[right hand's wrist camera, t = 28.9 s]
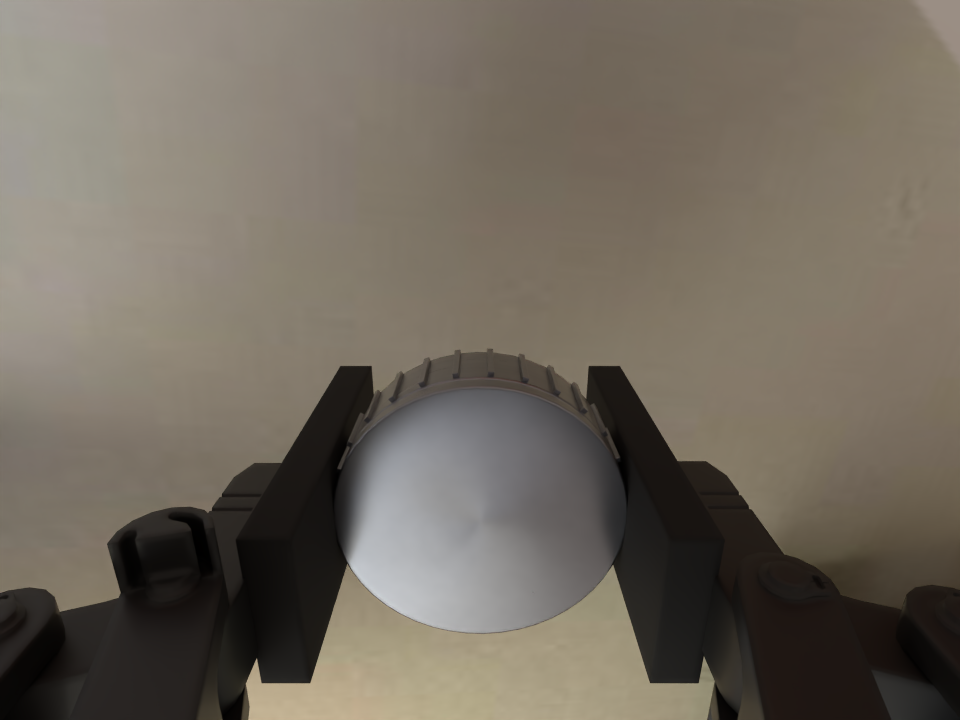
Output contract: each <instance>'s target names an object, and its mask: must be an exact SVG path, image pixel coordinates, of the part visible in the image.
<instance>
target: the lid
mask: <svg viewBox="0 0 960 720" xmlns="http://www.w3.org/2000/svg"><path fill="white" fill-rule="evenodd" d="M619 462H621V458H620V456H619V453H618V451H617V449H616V447H615V444H614V442H613V440H612V437H611V435H610V433H609V430H608V428H605V426H604V423H603V421H602V419H601V416H600V414H599V412H598V409H597V407H596V405H595V404H594V403H593V404H592V405H590V404H589V403H588V401H587V400H586V399H585V398H584V397H583V396H582V395H581V392H580V389H579V387H578V385H577V384H576V383H575V382H573V383H572V384H570V383H569V382H567V381H566V380H565V379H564V378H562V377H561V376H559V375H558V374H556V373H555V371H554V368H553V367H552V366H550V365H548V367H547V368H546V367H543V366H541V365H539V364H537V363H534V362H532V361H529V360H526V359H525V355H523V354H519V356H518V357H516V356H511V355H505V354H499V353H493V349H487V353H485V352H473V353H461V350H456V351H455V355H450V356H446V357H441V358H438V359H435V360H432V361H431V360H430V358H426V359H424V362H423V364H422V365H420V366H418V367H416V368H414V369H412V370H410V371H408V372H406V373H405V374H403V373H402V372H401V371H400V372H399V373H397V375H396V378H395V380H394V381H393V382H392V383H391V384H390V385H389V386H387V387H386V388H385V389H384V390H383V391H382V392H380V391H379V390H377V391H376V392H375V394H374V396H373V399H372V401H371V404H370V406H369V408H368V410H367V411H366V413H365V414H362V413H360V415H359V417H358V419H357V421H356V423H355V426H354V428H353V430H352V433H351V435H350V437H349V440H348V442H347V444H346V449H345V451H344V453H343V456H342V458H341V460H340V463H339V465H338V467H337V471H336V472H337V473H339V474H338V478H337V482H336V486H335V490H334V497H333V512H334V522H335V530H336V537H337V541H338V543H339V546H340V549H341V551H342V554H343V556H344V558H345V560H346V562H347V563H348V565H349V567H350V569H351V570H352V572H353V573H354V574H355V576H356V577H357V578H358V579H359V581H360V582H361V583H362V584H363V585H364V586H365V587H366V588H367V589H368V590H369V591H370V592H371V593H372V594H373V595H374V596H375V597H376V598H378V599H379V600H380V601H381V602H383V603H384V604H385V605H387V606H388V607H390V608H392V609H393V610H395V611H396V612H398V613H400V614H402V615H404V616H406V617H408V618H410V619H412V620H414V621H417V622H420V623H422V624H425V625H428V626H431V627H435V628H439V629H443V630H448V631H454V632H462V633H480V634H486V633H500V632H507V631H512V630H518V629H522V628H526V627H529V626H533V625H536V624H539V623H541V622H544V621H546V620H549V619H551V618H553V617H555V616H557V615H559V614H561V613H563V612H564V611H566V610H568V609H569V608H571V607H572V606H574V605H575V604H577V603H578V602H580V601H581V600H582V599H583V598H584V597H586V596H587V595H588V594H589V593H590V592H591V591H592V590H593V589H594V588H595V587H596V586H597V585H598V584H599V583H600V582H601V580H602V579H603V578H604V577H605V575H606V574H607V572H608V571H609V569H610V568H611V566H612V565H613V563H614V561H615V559H616V557H617V555H618V553H619V551H620V549H621V546H622V542H623V539H624V534H625V525H626V516H627V506H628V498H627V492H626V486H625V482H624V479H623V476H622V473H621V470H620V467H619V465H618V463H619Z"/></svg>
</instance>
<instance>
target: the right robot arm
mask: <svg viewBox="0 0 960 720" xmlns="http://www.w3.org/2000/svg"><path fill="white" fill-rule="evenodd" d="M373 396H374V393H373V380H372V366H340V368H339V370H338V371H337V373H336V375H335V376H334V378H333V380H332V381H331V383H330V384H329V386H328V388H327V389H326V391H325V393H324V394H323V396H322V398H321V399H320V401H319V403H318V404H317V406H316V408H315V409H314V411H313V413H312V414H311V416H310V417H309V419H308V421H307V422H306V424H305V426H304V427H303V429H302V431H301V432H300V434H299V436H298V437H297V439H296V441H295V442H294V444H293V445H292V447H291V449H290V450H289V452H288V454H287V455H286V457H285V459H284V460H283V462H282V463H254V464H253V465H251V466H250V467H248V468H247V469H245V470H244V471H243V472H241V473H240V474H238V475H237V476H235V477H234V478H233V480H232V481H231V482H230V484H229V485H228V486H227V488H226V489H225V491H224V492H223V493H222V497H220V498H219V499H218V500H217V502H216V503H215V504H214V506H213V507H212V511H209V513H207V512H206V511H205V510H202V509H197V508H193V507H174V508H168V509H164V510H160V511H156V512H152V513H149V514H147V515H145V516H142V517H140V518H138V519H136V520H133V521H132V522H130V523H129V524H127V525H126V526H124V527H123V528H122V529H120V530H119V531H117V532H116V534H115V535H114V536H113V537H112V539H111V540H110V541H109V542H108V543H107V545H108V549H109V552H110V556H111V559H112V563H113V566H114V570H115V574H116V577H117V581H118V584H119V588H120V591H121V594H120V596H119V598H117V599H113V600H110V601H107V602H102V603H98V604H93V605H89V606H84V607H80V608H76V609H71V610H67V611H62V612H59V609H58V606H57V603H56V600H55V597H54V596H53V595H51V594H50V593H49V592H48V591H47V590H44V589H37V588H23V589H16V590H9V591H6V592H3V593H0V720H248V717H249V700H248V693H247V688H246V682H247V679H248V677H249V675H250V672H251V670H252V668H253V665H254V663H255V661H256V658H257V660H258V666H259V671H260V676H261V682H262V683H310V682H311V679H312V676H313V672H314V669H315V666H316V663H317V660H318V656H319V653H320V650H321V647H322V643H323V640H324V637H325V634H326V631H327V627H328V624H329V621H330V618H331V614H332V611H333V608H334V605H335V602H336V598H337V595H338V592H339V589H340V585H341V582H342V579H343V576H344V573H345V569H346V566H347V562H346V560H345V558H344V556H343V554H342V551H341V549H340V546H339V543H338V541H337V537H336V530H335V522H334V512H333V497H334V490H335V486H336V482H337V478H338V474H339V473H337V472H336V471H337V467H338V465H339V463H340V460H341V458H342V456H343V453H344V451H345V449H346V444H347V442H348V440H349V437H350V435H351V433H352V430H353V428H354V426H355V423H356V421H357V419H358V417H359V415H360V413H362V414H365V413H366V411H367V410H368V408H369V406H370V404H371V401H372V399H373ZM586 400H587V401H588V403H589V404H590V405H592V404H593V403H594V404H595V405H596V407H597V409H598V412H599V414H600V416H601V419H602V421H603V423H604V426H605V428H608V430H609V433H610V435H611V437H612V440H613V442H614V444H615V447H616V449H617V451H618V453H619V456H620V458H621V462H619V463H618V465H619V467H620V470H621V473H622V476H623V479H624V482H625V486H626V492H627V498H628V506H627V516H626V525H625V534H624V539H623V542H622V546H621V549H620V551H619V553H618V555H617V557H616V559H615V561H614V563H613V565H614V568H615V571H616V575H617V578H618V581H619V584H620V588H621V591H622V594H623V597H624V600H625V604H626V607H627V610H628V613H629V617H630V620H631V623H632V626H633V629H634V633H635V636H636V639H637V642H638V646H639V649H640V652H641V655H642V658H643V662H644V665H645V668H646V671H647V674H648V678H649V681H650V683H699V678H700V673H701V668H702V662H703V657H705V659H706V661H707V664H708V666H709V668H710V671H711V673H712V675H713V678H714V680H715V683H714V688H713V693H712V698H711V703H710V709H709V714H708V719H707V720H960V590H957V589H954V588H948V587H941V586H934V585H929V586H922V587H915V588H914V589H913V590H912V591H911V592H909V593H908V594H907V595H906V598H905V601H904V604H903V607H902V610H900V609H896V608H891V607H887V606H882V605H878V604H873V603H869V602H864V601H860V600H856V599H852V598H849V597H845V596H842V595H840V593H839V591H838V590H837V588H836V587H835V585H834V584H833V582H832V581H831V579H830V578H828V577H827V576H826V575H825V574H823V573H822V572H821V571H820V570H818V569H817V568H816V567H814V566H812V565H810V564H808V563H806V562H804V561H802V560H800V559H798V558H795V557H791V556H787V555H784V554H783V552H782V551H781V550H780V548H779V547H778V546H777V544H776V543H775V541H774V540H773V539H772V537H771V536H770V535H769V533H768V532H767V530H766V529H765V528H764V526H763V525H762V523H761V522H760V521H759V519H758V518H757V517H756V515H755V514H754V512H753V511H752V510H751V509H749V506H748V504H747V503H746V501H745V500H744V499H743V497H742V496H741V495H739V492H738V490H737V489H736V488H735V486H734V485H733V484H732V482H731V481H730V479H729V478H728V477H727V475H725V474H724V473H722V472H721V471H719V470H718V469H716V468H715V467H713V466H712V465H711V464H709V463H708V462H706V461H677V460H676V458H675V456H674V455H673V453H672V451H671V450H670V448H669V447H668V445H667V443H666V442H665V440H664V438H663V437H662V435H661V433H660V432H659V430H658V428H657V427H656V425H655V423H654V422H653V420H652V418H651V417H650V415H649V414H648V412H647V410H646V409H645V407H644V405H643V404H642V402H641V400H640V399H639V397H638V395H637V394H636V392H635V390H634V389H633V387H632V386H631V384H630V382H629V381H628V379H627V377H626V376H625V374H624V372H623V371H622V369H621V367H620V366H589V371H588V385H587V398H586Z"/></svg>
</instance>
